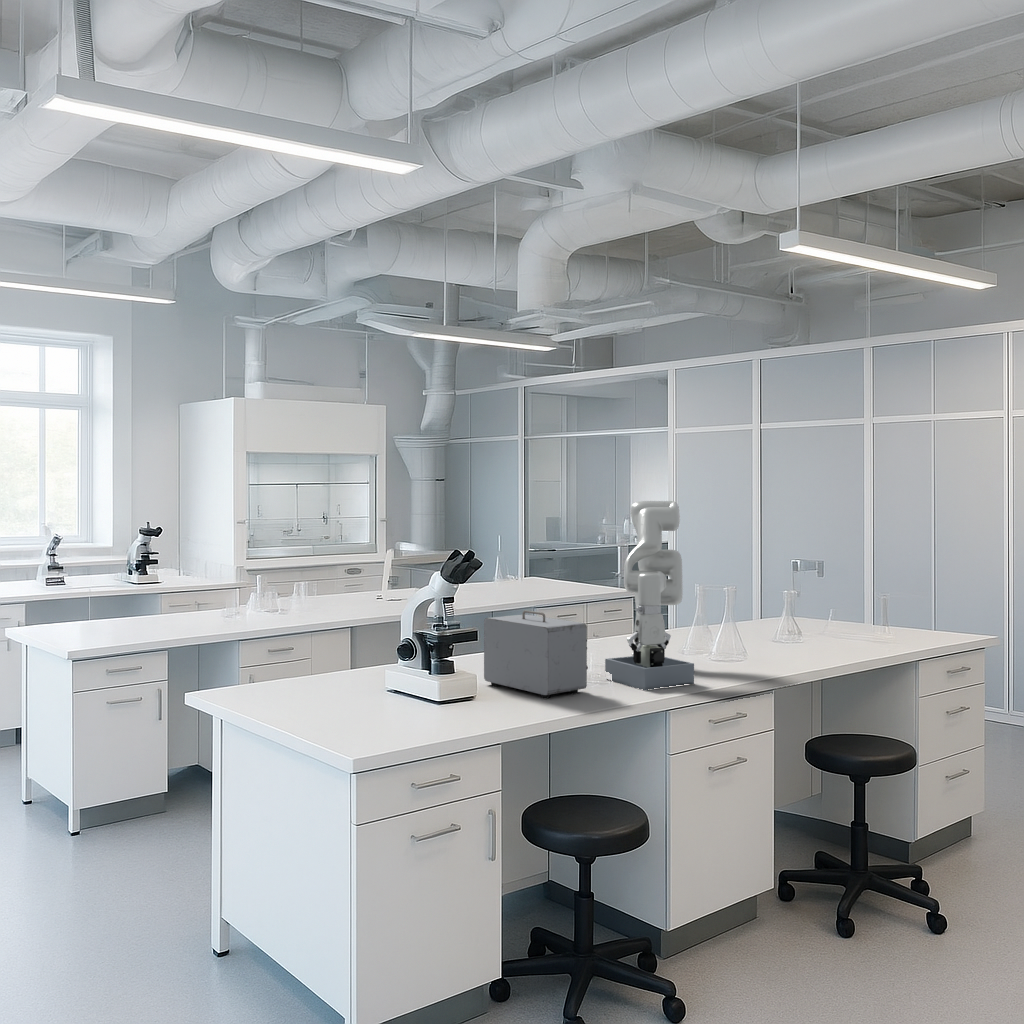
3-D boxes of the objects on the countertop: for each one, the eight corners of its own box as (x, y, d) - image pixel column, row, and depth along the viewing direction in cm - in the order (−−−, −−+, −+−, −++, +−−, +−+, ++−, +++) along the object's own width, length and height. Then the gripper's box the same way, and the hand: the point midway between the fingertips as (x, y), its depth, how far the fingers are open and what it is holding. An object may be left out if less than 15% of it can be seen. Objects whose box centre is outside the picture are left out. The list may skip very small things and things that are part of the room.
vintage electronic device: (591, 692, 307) (591, 613, 307) (548, 700, 296) (548, 618, 296) (526, 678, 332) (526, 604, 332) (484, 684, 321) (484, 608, 320)
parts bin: (605, 679, 330) (605, 658, 329) (652, 674, 339) (652, 654, 339) (645, 690, 310) (645, 668, 310) (694, 684, 320) (694, 663, 320)
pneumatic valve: (653, 682, 319) (653, 645, 318) (632, 677, 329) (632, 641, 329) (667, 681, 321) (667, 644, 321) (646, 675, 331) (646, 640, 331)
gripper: (634, 612, 317) (634, 665, 317) (676, 609, 326) (676, 661, 326) (621, 610, 324) (621, 662, 324) (662, 607, 332) (662, 658, 332)
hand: (649, 661), depth 325 cm, fingers open, 9 cm apart
